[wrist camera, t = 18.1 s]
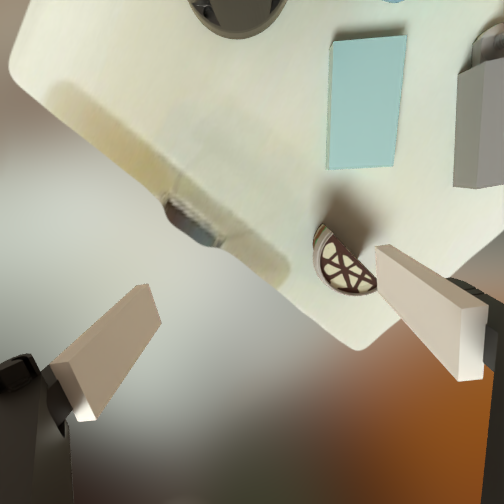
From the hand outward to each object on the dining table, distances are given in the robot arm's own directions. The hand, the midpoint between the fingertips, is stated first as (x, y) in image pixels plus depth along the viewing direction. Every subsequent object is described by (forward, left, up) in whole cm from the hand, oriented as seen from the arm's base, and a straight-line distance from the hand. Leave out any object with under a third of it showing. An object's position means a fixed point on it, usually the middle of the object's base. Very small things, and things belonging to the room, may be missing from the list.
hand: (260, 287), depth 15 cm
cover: (-12, +17, -32) cm, 38 cm away
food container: (+10, +10, -32) cm, 35 cm away
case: (-8, +35, -32) cm, 48 cm away
